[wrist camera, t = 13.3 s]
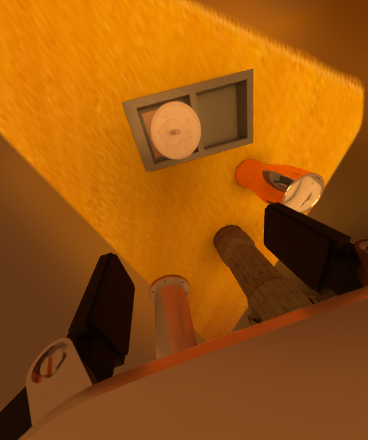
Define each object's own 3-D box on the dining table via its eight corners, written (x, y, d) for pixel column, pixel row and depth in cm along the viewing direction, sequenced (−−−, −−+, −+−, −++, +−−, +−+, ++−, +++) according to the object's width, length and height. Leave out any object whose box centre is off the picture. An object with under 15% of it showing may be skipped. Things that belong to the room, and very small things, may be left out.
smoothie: (149, 109, 25) (149, 86, 13) (187, 113, 27) (219, 95, 15) (150, 151, 28) (151, 164, 16) (184, 153, 30) (209, 166, 18)
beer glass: (227, 174, 35) (273, 199, 22) (251, 149, 33) (316, 160, 20) (244, 193, 38) (292, 225, 25) (267, 171, 36) (331, 193, 23)
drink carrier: (244, 142, 32) (257, 144, 28) (146, 170, 31) (145, 176, 27) (243, 72, 26) (259, 62, 23) (122, 103, 25) (118, 98, 22)
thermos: (250, 240, 46) (439, 442, 16) (213, 257, 46) (331, 483, 16) (244, 217, 41) (495, 438, 11) (204, 235, 42) (343, 496, 12)
